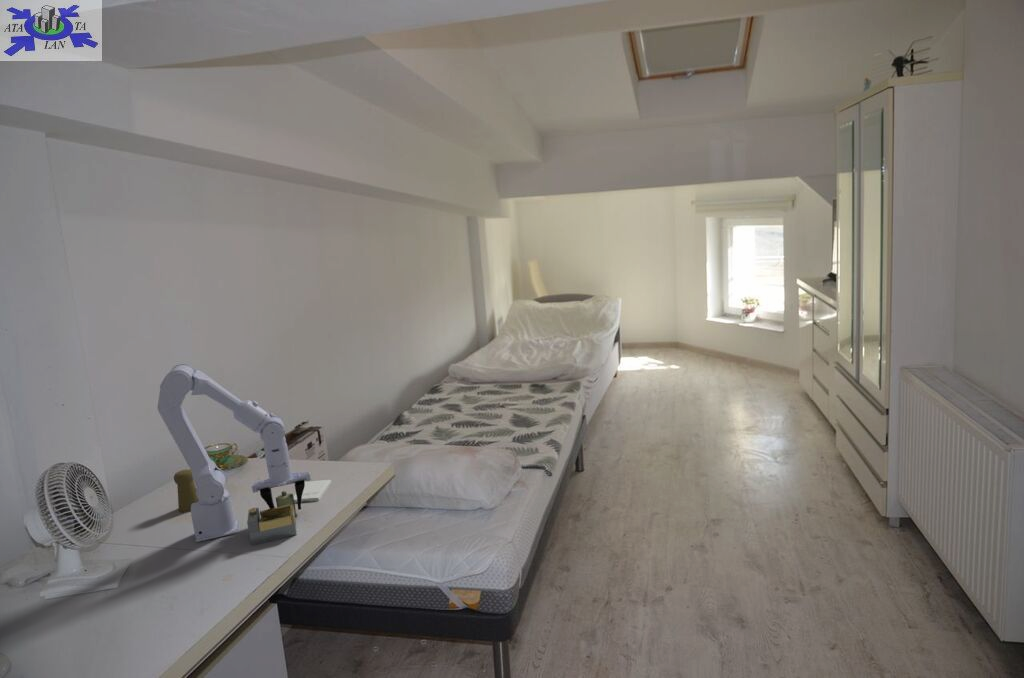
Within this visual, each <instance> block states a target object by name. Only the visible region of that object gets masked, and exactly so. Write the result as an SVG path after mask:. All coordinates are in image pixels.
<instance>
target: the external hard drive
mask: <svg viewBox="0 0 1024 678" xmlns="http://www.w3.org/2000/svg"><path fill="white" fill-rule="evenodd" d="M304 482H305V487H304V490H303V493H302V498H301V503H304V501H311V502H319V501H320V500H321V498H322V497H323V496H324V495H325V493H326V492H327V490H328V489H329V487H330V486H331V484H332V482H333V481H332V480H331V479H323V480H322V479H321V480H313V481H312V480H311V481H304ZM293 497H294V503H295V504H296V502H297V495H296V493H294V494H293Z"/></svg>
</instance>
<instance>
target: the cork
mask: <svg viewBox="0 0 1024 678" xmlns="http://www.w3.org/2000/svg"><path fill="white" fill-rule="evenodd" d="M173 481H174V482H175V484H176V485H177V487H176V488H177V501H178V502H177V503H178V512H180V513H188V512H191V505H192V504H193V503H196V502H199V499H198V497H197V494H196V490H197V489H196V485H195V483H194V481H193V476H192V471H191V469H190V468H189V469H187V468H186V469H182V470H180V471H177V472H176V473H174V476H173Z"/></svg>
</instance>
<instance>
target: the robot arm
mask: <svg viewBox="0 0 1024 678" xmlns="http://www.w3.org/2000/svg"><path fill="white" fill-rule="evenodd" d="M190 391H191V394H190V395H191V396H201V395H202V396H207V397H209V398H210V399H212V400H213V401H215V402H217V403H218V404H220V405H222V406H223V407H225V408H226V409H228V410H230V411H232V413H233V418H234V420H236V421H238V422H239V423H240V424H242V425H243V426H245V427H247V428H248V429H250V430H251V431H253V432H254V433H258V434H259V436H260V439H261V440H262V441H263V446H264V448H263V450H264V451H263V452H264V457H265V461H266V467H267V474H268V478H266V479H263V480H260V481H257V482H253V483H251V489H252V490H251V491H252V493H253V494H254V493H258V492H259V493H260V494H259V496H260V497H261V498H262V500H263V501H264V502H265V503H266V504H267V506H268V508H269V509H272V508H276V507H275V503H274V500H273V494H272V489H273V488H279V487H284V486H287V485H292V484H294V489H295V494H296V495H297V510H298V511H300V510H302V502H301V498H302V493H303V490H304V487H305V482H309V481H312V478H311V472H310V471H303V472H294V473H293V472H292V465H291V460H290V454H289V446H288V444H287V443H288V442H287V439H286V436H285V432H286V431H285V424H284V421H283V419H281V418H280V416H278V415H275V414H274V413H272V412H268V411H266V410H264V409H263V408H261V407H260V406H259V403H258V402H257V401H256V400H253V401H252V400H250V399H246V400H241V399H239V398H238V397H236V396H235V394H232V393H231V392H230V391H229V390H227V389H226V388H224V387H223V386H222V385H220V383H218V382H216V381H215V380H214V379H212V378H211V377H210V376H208V375H207V374H205V373H204V372H203V371H201V370H198V369H196V368H194V367H193V366H192V365H190V364H188V363H179V364H176V365H174V366H173V367H172V368H171V370H170V371H169V372H168V373H167V374H166V375H165V376H164V378H163V379H162V382H161V383H160V385H159V393H158V395H159V396H158V401H157V407H156V408H157V411H158V414H159V415H160V417H161V419H162V421H163V422H164V424H165V426H166V428H167V430H168V431H169V433H170V435H171V436H172V438H173V440H174V442H175V444H176V446H177V447H178V450H179V451H180V453H181V455H182V456H183V459H184V460H185V462H186V464H187V466H188V467H189V470H191V471H192V476H193V481H194V484H195V487H196V489H197V490H196V494H197V497H198V499H199V502H196V503H193V504H192V505H191V511H190V515H191V523H192V526H193V531H194V537H195V542H196V543H198V542H203V541H207V540H211V539H216V538H222V537H225V536H229V535H234V534H237V532H238V524H239V519H235V515H234V510H233V505H232V500H231V499H232V498H231V494H230V492H229V490H227V489H226V488H225V487H226V484H227V482H228V477H227V475H226V473H225V472H224V471H223V470H222V469H220V468H219V467H218V466H217V464H216V462H215V461H214V460H212V459H211V458H210V455H208V452H207V451H206V448H205V447H204V445H203V443H202V441H201V439H200V437H199V436H198V433H197V432H196V430H195V429H194V426H193V424H192V422H191V421H190V419H189V417H188V416H187V414H186V412H185V410H184V408H183V406H182V404H183V402H184V400H185V398H186V396H187V394H188V393H189V392H190Z"/></svg>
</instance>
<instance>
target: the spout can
mask: <svg viewBox="0 0 1024 678" xmlns="http://www.w3.org/2000/svg"><path fill="white" fill-rule="evenodd" d="M293 496H294V494H293V493H290V492H289V493H288V492H287V491H286V490H283V491H281V494H279V495H277V496H276V497H275V503H276V507H281V506H285V505H290V504H293V508H294V514H295V517H296V516H297V509H296V503H294V497H293Z"/></svg>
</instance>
